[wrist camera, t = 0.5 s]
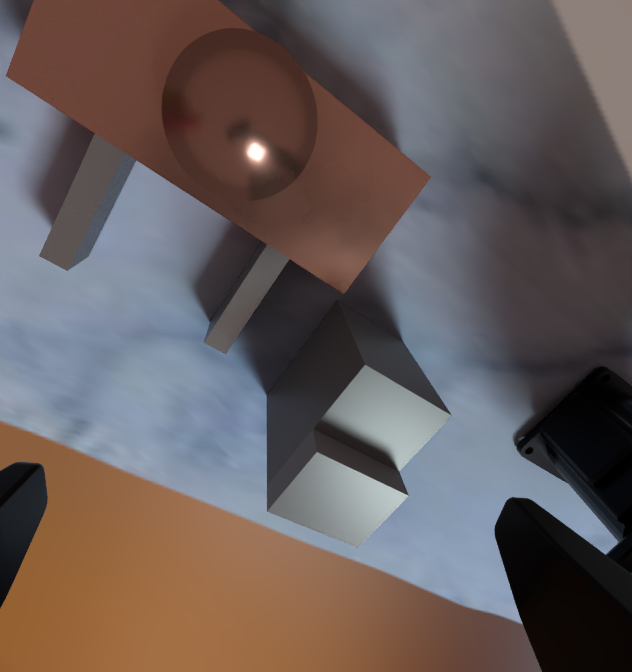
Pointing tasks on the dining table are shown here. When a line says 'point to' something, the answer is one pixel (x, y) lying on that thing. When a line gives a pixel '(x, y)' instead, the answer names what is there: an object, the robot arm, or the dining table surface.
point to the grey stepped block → (347, 427)
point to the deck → (213, 138)
